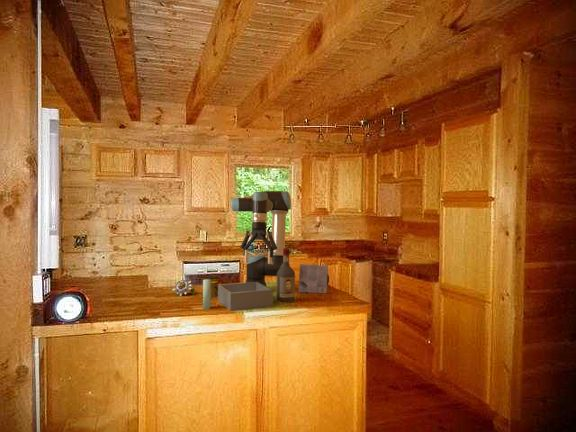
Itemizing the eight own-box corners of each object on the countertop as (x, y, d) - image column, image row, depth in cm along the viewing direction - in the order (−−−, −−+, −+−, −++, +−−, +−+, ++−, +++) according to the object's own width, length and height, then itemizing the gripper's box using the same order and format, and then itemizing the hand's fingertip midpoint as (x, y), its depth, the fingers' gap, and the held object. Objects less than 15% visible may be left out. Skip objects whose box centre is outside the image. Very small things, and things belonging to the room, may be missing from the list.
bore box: (217, 300, 227) (218, 284, 227) (256, 296, 237) (257, 281, 237) (230, 310, 205) (230, 293, 205) (272, 306, 216) (273, 289, 215)
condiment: (220, 297, 236) (220, 277, 235) (206, 298, 231) (207, 278, 231) (215, 294, 242) (215, 275, 241) (202, 296, 237) (202, 276, 237)
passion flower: (180, 305, 237) (168, 289, 234) (184, 297, 247) (173, 282, 245) (196, 295, 236) (184, 279, 233) (199, 287, 246) (187, 272, 244)
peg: (202, 307, 211) (202, 279, 210) (209, 306, 213) (209, 279, 212) (203, 309, 207) (204, 280, 207) (211, 308, 209) (211, 280, 209)
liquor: (275, 299, 231) (276, 248, 231) (290, 298, 235) (290, 248, 234) (280, 303, 223) (281, 250, 222) (295, 301, 226) (296, 249, 225)
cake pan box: (328, 292, 253) (329, 264, 253) (328, 293, 248) (329, 265, 248) (299, 290, 255) (299, 263, 255) (298, 292, 250) (298, 264, 250)
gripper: (234, 221, 205) (233, 262, 204) (278, 221, 195) (276, 264, 194) (242, 222, 212) (240, 261, 211) (284, 222, 202) (283, 264, 201)
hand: (257, 263), depth 202 cm, fingers open, 13 cm apart
